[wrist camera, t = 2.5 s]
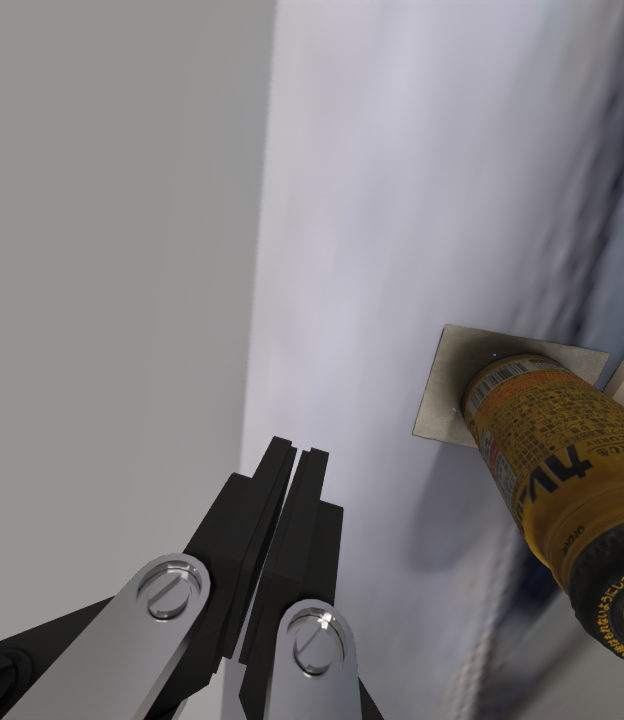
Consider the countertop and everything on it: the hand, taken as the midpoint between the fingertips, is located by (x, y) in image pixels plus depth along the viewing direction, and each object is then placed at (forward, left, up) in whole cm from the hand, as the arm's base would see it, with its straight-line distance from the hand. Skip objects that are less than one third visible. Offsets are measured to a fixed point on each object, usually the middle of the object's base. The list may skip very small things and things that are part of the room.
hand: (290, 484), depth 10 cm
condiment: (-1, +10, -12) cm, 15 cm away
